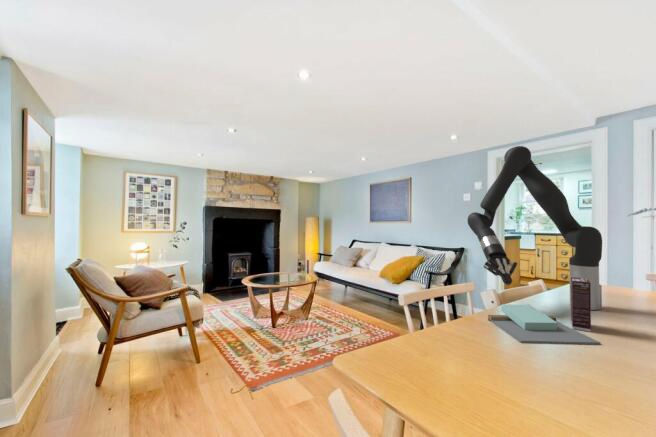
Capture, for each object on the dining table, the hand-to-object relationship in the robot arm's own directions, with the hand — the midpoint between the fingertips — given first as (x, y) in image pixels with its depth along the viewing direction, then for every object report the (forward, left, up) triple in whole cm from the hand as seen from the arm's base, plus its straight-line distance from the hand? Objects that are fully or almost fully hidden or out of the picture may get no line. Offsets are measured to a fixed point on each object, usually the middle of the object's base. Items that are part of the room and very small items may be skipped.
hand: (509, 283), depth 111 cm
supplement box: (-14, +15, -12) cm, 24 cm away
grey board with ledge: (+3, +17, -12) cm, 21 cm away
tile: (+1, +4, -8) cm, 9 cm away
